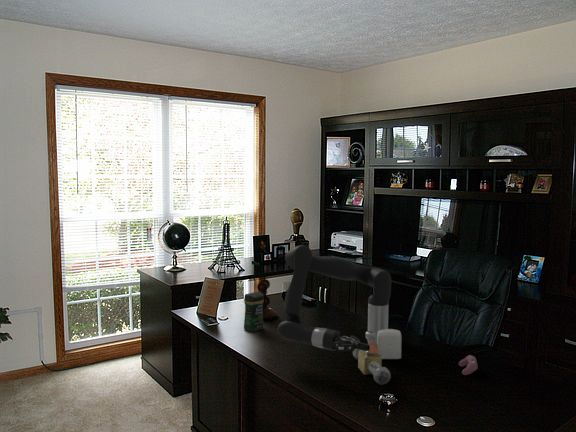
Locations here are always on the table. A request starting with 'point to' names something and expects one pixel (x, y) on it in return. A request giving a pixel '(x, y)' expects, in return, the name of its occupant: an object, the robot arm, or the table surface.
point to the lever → (371, 342)
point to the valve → (372, 365)
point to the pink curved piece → (468, 365)
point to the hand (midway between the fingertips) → (368, 347)
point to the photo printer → (389, 343)
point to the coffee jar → (253, 311)
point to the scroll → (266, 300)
